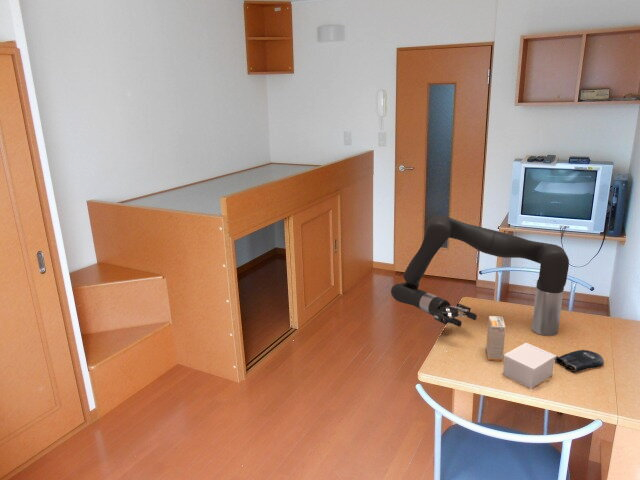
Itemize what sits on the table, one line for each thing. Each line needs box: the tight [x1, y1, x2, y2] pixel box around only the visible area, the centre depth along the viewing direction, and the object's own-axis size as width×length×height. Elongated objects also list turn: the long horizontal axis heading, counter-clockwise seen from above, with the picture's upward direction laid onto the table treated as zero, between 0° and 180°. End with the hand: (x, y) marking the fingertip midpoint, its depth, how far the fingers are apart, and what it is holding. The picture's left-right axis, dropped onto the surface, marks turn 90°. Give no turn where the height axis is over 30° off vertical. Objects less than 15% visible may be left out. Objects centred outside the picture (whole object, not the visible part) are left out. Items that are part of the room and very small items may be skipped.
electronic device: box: [554, 349, 605, 373], centre depth 166 cm, size 9×6×15 cm
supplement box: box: [485, 315, 507, 362], centre depth 170 cm, size 8×5×13 cm, turn 168°
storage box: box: [502, 342, 557, 389], centre depth 159 cm, size 13×11×7 cm
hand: (468, 320), depth 178 cm, fingers open, 8 cm apart
